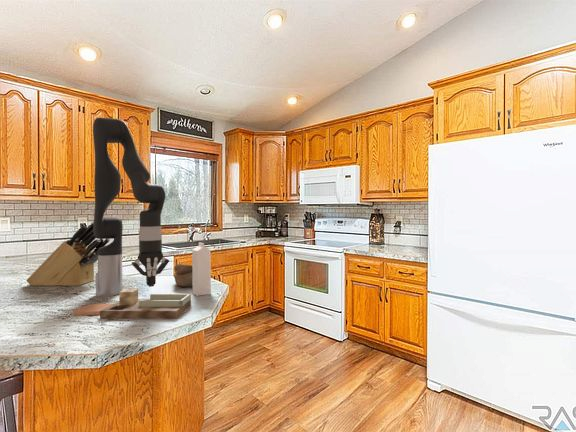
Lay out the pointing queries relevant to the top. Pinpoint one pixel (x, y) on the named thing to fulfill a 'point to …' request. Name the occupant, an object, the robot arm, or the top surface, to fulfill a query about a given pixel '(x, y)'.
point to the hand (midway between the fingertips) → (151, 286)
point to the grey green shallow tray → (165, 300)
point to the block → (128, 297)
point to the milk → (201, 270)
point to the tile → (91, 309)
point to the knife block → (70, 261)
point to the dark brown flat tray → (143, 311)
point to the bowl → (183, 275)
